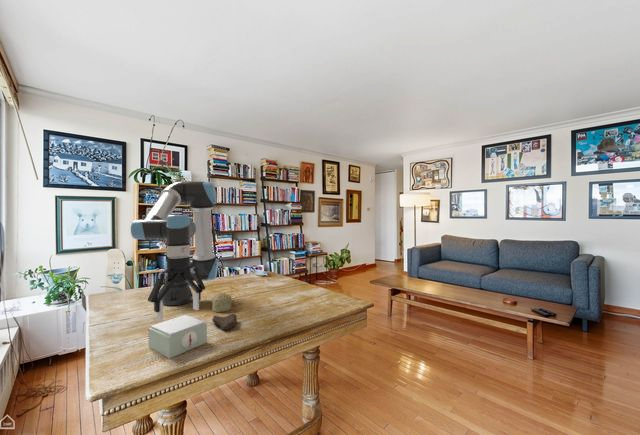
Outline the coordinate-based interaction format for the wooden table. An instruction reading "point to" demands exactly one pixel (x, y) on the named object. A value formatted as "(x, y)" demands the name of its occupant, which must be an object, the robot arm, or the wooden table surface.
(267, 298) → the wooden table surface
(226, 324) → the rock
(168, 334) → the scale
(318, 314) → the wooden table surface
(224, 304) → the decorative object
